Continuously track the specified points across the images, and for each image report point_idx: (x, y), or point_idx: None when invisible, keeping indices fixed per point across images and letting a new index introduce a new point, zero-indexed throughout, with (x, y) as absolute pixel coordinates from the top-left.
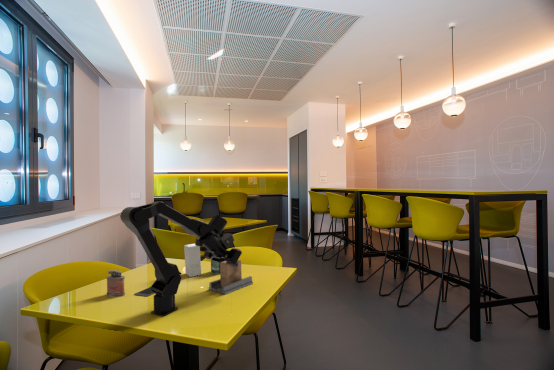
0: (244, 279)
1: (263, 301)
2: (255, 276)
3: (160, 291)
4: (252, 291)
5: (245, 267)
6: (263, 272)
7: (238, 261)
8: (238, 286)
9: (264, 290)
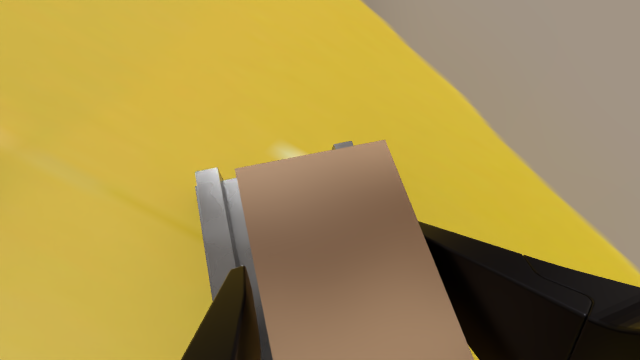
0: None
1: (616, 260)
2: (237, 80)
3: None
4: (464, 229)
5: (4, 17)
6: (207, 16)
7: (398, 190)
8: None
9: (478, 173)
